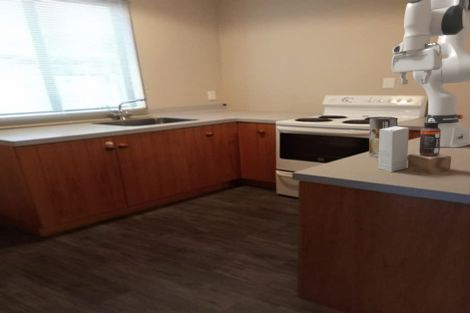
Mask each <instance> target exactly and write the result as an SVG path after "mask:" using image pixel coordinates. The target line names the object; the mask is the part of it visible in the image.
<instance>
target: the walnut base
mask: <svg viewBox="0 0 470 313" xmlns="http://www.w3.org/2000/svg"><path fill="white" fill-rule="evenodd" d="M451 163H452V156H451V155H448V154H442V153H439V155H437V156H425V155H421V154H420V153H419V152H416V153H411V154H408V155H407V170H412V171H415V172H420V173H422V174H427V175H433V174H439V173H445V172H450V171H451Z"/></svg>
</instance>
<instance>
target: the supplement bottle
mask: <svg viewBox="0 0 470 313" xmlns="http://www.w3.org/2000/svg"><path fill="white" fill-rule="evenodd" d="M423 125H424V126H423V127H422V128H421V129H420V136H419V151H418V153H420V154H421V155H425V156H437V155H439V154H440V149H441V148H440V136H441V130H440V128H438V122H434V121H429V122H426V121H424V123H423Z"/></svg>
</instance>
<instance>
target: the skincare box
mask: <svg viewBox="0 0 470 313" xmlns="http://www.w3.org/2000/svg"><path fill="white" fill-rule="evenodd" d="M409 132H410V128H409V127H405V126H398V125H397V126H394V127H389V128H384V129H380V134H379V157H378V162H377V163H378V167H377V168H378V169H379V170H382V171H386V172H390V173H393V172H396V171H400V170H403V169H408V155H409V154H408V151H409V134H410V133H409Z"/></svg>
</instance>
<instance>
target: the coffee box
mask: <svg viewBox="0 0 470 313" xmlns="http://www.w3.org/2000/svg"><path fill="white" fill-rule="evenodd" d="M394 126H398V117H382V116H380V117H379V116H376V117H372V118H369V136H368V137H369V140H368V142H369V144H368V145H369V146H368V148H369V150H368V151H369V152H368V154H369V155H368V156H369V157H373V158H379V134H380V129H384V128H389V127H394Z"/></svg>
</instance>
